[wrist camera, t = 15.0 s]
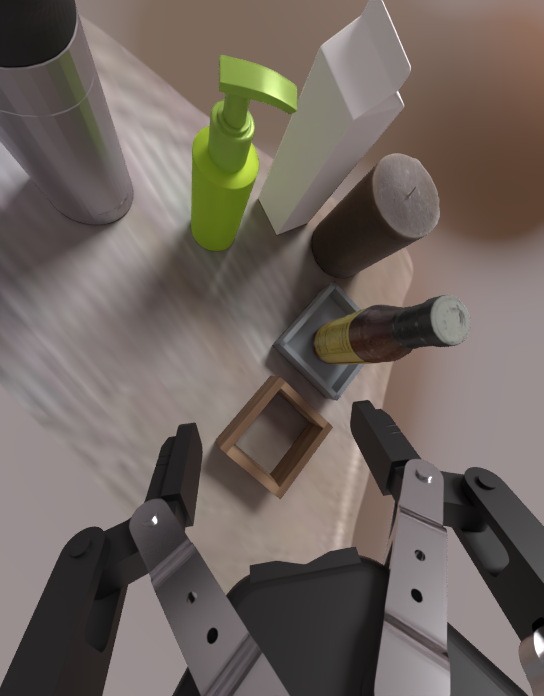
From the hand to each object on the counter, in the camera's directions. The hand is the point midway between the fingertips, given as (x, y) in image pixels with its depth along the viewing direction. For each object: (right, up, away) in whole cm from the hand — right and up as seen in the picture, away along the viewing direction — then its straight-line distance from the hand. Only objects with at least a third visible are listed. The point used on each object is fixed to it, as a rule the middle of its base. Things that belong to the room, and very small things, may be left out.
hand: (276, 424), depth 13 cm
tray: (+8, +5, +26) cm, 28 cm away
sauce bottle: (+8, +4, +26) cm, 27 cm away
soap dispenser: (-8, +20, +22) cm, 31 cm away
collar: (0, -7, +23) cm, 24 cm away
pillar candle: (+10, +20, +28) cm, 36 cm away
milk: (+2, +24, +26) cm, 36 cm away
